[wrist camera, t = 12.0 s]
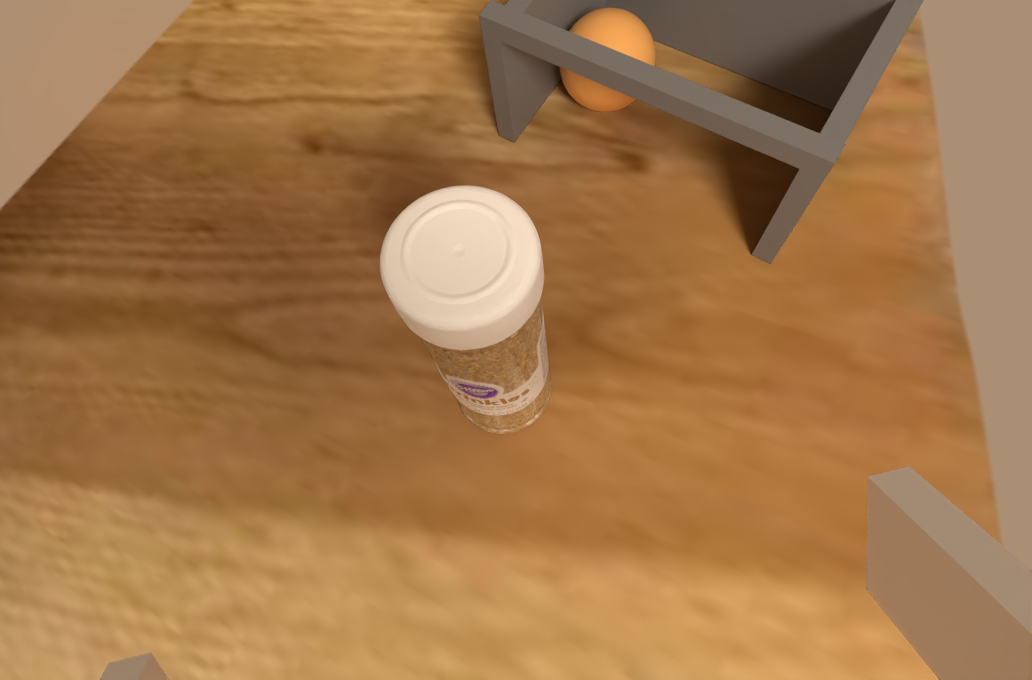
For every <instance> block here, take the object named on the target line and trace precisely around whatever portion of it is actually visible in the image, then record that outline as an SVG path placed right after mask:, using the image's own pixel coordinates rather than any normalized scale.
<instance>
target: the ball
mask: <svg viewBox="0 0 1032 680" xmlns="http://www.w3.org/2000/svg"><path fill="white" fill-rule="evenodd" d="M569 32H572V33H574V34H577V35H579V36H581V37H584V38H586V39H589V40H591V41H594V42H596V43H599V44H601V45H604V46H606V47H608V48H611V49H613V50H616V51H618V52H621V53H623V54H626V55H628V56H631V57H633V58H635V59H638V60H640V61H643V62H645V63H648V64H650V65H653V66H655V62H656V52H655V45H654V41H653V38H652V35H651V33H650V31H649V30H648V28H647V26H646V25H645V24H644V23H643V21H642V20H641V19H639V18H638V17H637V16H636V15H634V14H633V13H631V12H629V11H627V10H624V9H620V8H612V7H608V8H601V9H597V10H594V11H592V12H589V13H588V14H586V15H584V16H583V17H581V18H580V19H579V20H578V21H577V22H576V23H575V24H574V25H573V26H572V27H571V29H570V30H569ZM560 74H561V78H562V81H563V84H564V86H565V88H566V90H567V91H568V93H569V94H570V96H571V97H572V98H573V99H574V100H575V101H576V102H578V103H579V104H580V105H582V106H584V107H586V108H588V109H590V110H593V111H599V112H611V111H616V110H620V109H622V108H624V107H626V106H628V105H630V104H631V103H633V102H634V101H636V100H637V99H634V98H632V97H630V96H627V95H625V94H623V93H620V92H618V91H616V90H613V89H611V88H608V87H606V86H604V85H601V84H599V83H597V82H594V81H592V80H590V79H587V78H585V77H583V76H580V75H578V74H576V73H573V72H571V71H569V70H566V69H564V68H562V67H560Z"/></svg>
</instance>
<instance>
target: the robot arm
mask: <svg viewBox="0 0 1032 680" xmlns="http://www.w3.org/2000/svg"><path fill="white" fill-rule="evenodd" d="M866 590H867V591H868V592H869V593H870V594H871V596H872V597H873V598H874V599H875V601H876V602H877V603H878V604H879V606H880V607H881V608H882V609H883V611H884V612H885V613H886V614H887V615H888V617H889V618H890V619H891V620H892V622H893V623H894V624H895V625H896V627H897V628H898V629H899V630H900V632H901V633H902V634H903V635H904V636H905V638H906V639H907V640H908V641H909V643H910V644H911V645H912V646H913V648H914V649H915V650H916V651H917V652H918V654H919V655H920V656H921V657H922V659H923V660H924V661H925V662H926V664H927V665H928V666H929V667H930V669H931V670H932V671H933V672H934V673H935V675H936V676H937V677H938V678H939V680H1032V570H1031V569H1029V568H1028V567H1027V566H1026V565H1024V564H1023V563H1022V562H1021V561H1020V560H1019V559H1018V558H1016V557H1015V556H1014V555H1013V554H1012V553H1010V552H1009V551H1008V550H1007V549H1006V548H1005V547H1004V546H1002V545H1001V544H1000V543H999V542H998V541H996V540H995V539H994V538H993V537H992V536H991V535H989V534H988V533H987V532H986V531H985V530H984V529H982V528H981V527H980V526H979V525H978V524H977V523H975V522H974V521H973V520H972V519H971V518H969V517H968V516H967V515H966V514H965V513H964V512H962V511H961V510H960V509H959V508H958V507H957V506H955V505H954V504H953V503H952V502H951V501H950V500H948V499H947V498H946V497H945V496H944V495H943V494H941V493H940V492H939V491H938V490H937V489H935V488H934V487H933V486H932V485H931V484H930V483H928V482H927V481H926V480H925V479H924V478H923V477H921V476H920V475H919V474H918V473H917V472H916V471H914V470H913V469H912V468H911V467H910V466H909V467H905V468H901V469H897V470H893V471H889V472H884V473H880V474H876V475H872V476H868V500H867V563H866ZM100 680H169V679H168V677H167V676H166V674H165V673H164V671H163V670H162V668H161V667H160V665H159V664H158V662H157V661H156V659H155V658H154V656H153V655H152V653H148V654H144V655H140V656H136V657H132V658H128V659H124V660H120V661H116V662H111V663H109V664H108V666H107V668H106V670H105V671H104V673H103V675H102V676H101V678H100Z"/></svg>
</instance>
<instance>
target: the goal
mask: <svg viewBox="0 0 1032 680" xmlns="http://www.w3.org/2000/svg"><path fill="white" fill-rule="evenodd" d="M922 2H923V0H509V1H508V2H507V3H506V4H505V5H503V4H500V3H498V2H495V1H493V0H491V1H490V2H489V3H488V4H487V6H486V7H485V8H484V9H483V11H482V12H481V13H480V14H479V19H480V25H481V31H482V37H483V43H484V49H485V55H486V61H487V67H488V73H489V79H490V85H491V91H492V97H493V103H494V109H495V115H496V121H497V127H498V133H499V136H501V137H503V138H505V139H507V140H509V141H511V142H515V141H516V139H517V138H518V137H519V135H520V134H521V133H522V131H523V130H524V129H525V127H526V126H527V125H528V123H529V122H530V120H531V119H532V118H533V116H534V115H535V114H536V112H537V111H538V110H539V108H540V107H541V106H542V104H543V103H544V102H545V100H546V99H547V98H548V96H549V95H550V93H551V92H552V91H553V89H554V88H555V87H556V85H557V84H558V83H559V81H560V80H561V79H562V78H561V74H560V67H562V68H564V69H566V70H569V71H571V72H573V73H576V74H578V75H580V76H583V77H585V78H587V79H590V80H592V81H594V82H597V83H599V84H601V85H604V86H606V87H608V88H611V89H613V90H616V91H618V92H620V93H623V94H625V95H627V96H630V97H632V98H634V99H637V100H639V101H641V102H644V103H646V104H648V105H651V106H653V107H655V108H658V109H660V110H663V111H665V112H667V113H670V114H672V115H674V116H677V117H679V118H681V119H684V120H686V121H688V122H691V123H693V124H695V125H698V126H700V127H702V128H705V129H707V130H709V131H712V132H714V133H717V134H719V135H721V136H724V137H726V138H728V139H731V140H733V141H735V142H738V143H740V144H742V145H745V146H747V147H749V148H752V149H754V150H756V151H759V152H761V153H764V154H766V155H768V156H771V157H773V158H775V159H778V160H780V161H782V162H785V163H787V164H789V165H792V166H794V167H796V168H799V171H798V173H797V175H796V176H795V178H794V180H793V182H792V184H791V185H790V187H789V189H788V191H787V192H786V194H785V196H784V198H783V200H782V201H781V203H780V205H779V207H778V209H777V210H776V212H775V214H774V216H773V218H772V219H771V221H770V223H769V225H768V226H767V228H766V230H765V232H764V234H763V235H762V237H761V239H760V241H759V243H758V244H757V246H756V248H755V250H754V251H753V253H752V255H753V256H755V257H757V258H759V259H761V260H763V261H765V262H768V263H770V264H771V263H772V261H773V259H774V258H775V256H776V255H777V253H778V252H779V250H780V249H781V247H782V245H783V244H784V242H785V241H786V239H787V238H788V236H789V234H790V233H791V231H792V230H793V228H794V227H795V225H796V223H797V222H798V220H799V219H800V217H801V216H802V214H803V212H804V211H805V209H806V208H807V206H808V205H809V203H810V201H811V200H812V198H813V197H814V195H815V194H816V192H817V190H818V189H819V187H820V186H821V184H822V183H823V181H824V179H825V178H826V176H827V175H828V173H829V172H830V170H831V168H832V167H833V165H834V164H835V162H836V160H837V158H838V157H839V155H840V153H841V151H842V149H843V148H844V146H845V144H844V143H845V142H846V140H847V138H848V136H849V134H850V133H851V131H852V129H853V127H854V125H855V123H856V122H857V120H858V118H859V116H860V114H861V113H862V111H863V109H864V107H865V105H866V104H867V102H868V100H869V98H870V96H871V95H872V93H873V91H874V89H875V87H876V86H877V84H878V82H879V80H880V78H881V77H882V75H883V73H884V71H885V69H886V67H887V66H888V64H889V62H890V60H891V58H892V57H893V55H894V53H895V51H896V49H897V48H898V46H899V44H900V42H901V40H902V39H903V37H904V35H905V33H906V31H907V30H908V28H909V26H910V24H911V22H912V21H913V19H914V17H915V15H916V13H917V11H918V10H919V8H920V6H921V4H922ZM608 7H612V8H620V9H624V10H627V11H629V12H631V13H633V14H634V15H636V16H637V17H638V18H639V19H641V20H642V21H643V23H644V24H645V25H646V26H647V28H648V30H649V31H650V33H651V35H652V38H653V40H654V41H657V42H660V43H662V44H665V45H667V46H670V47H672V48H675V49H677V50H680V51H682V52H685V53H687V54H690V55H692V56H695V57H697V58H700V59H703V60H705V61H708V62H710V63H713V64H715V65H718V66H720V67H723V68H725V69H728V70H730V71H733V72H735V73H738V74H741V75H743V76H746V77H748V78H751V79H753V80H756V81H758V82H761V83H763V84H766V85H768V86H771V87H773V88H776V89H778V90H781V91H784V92H786V93H789V94H791V95H794V96H796V97H799V98H801V99H804V100H806V101H809V102H811V103H814V104H816V105H819V106H821V107H824V108H827V109H829V110H832V113H831V115H830V117H829V118H828V120H827V122H826V124H825V125H824V127H823V129H822V131H821V132H820V133H817V132H815V131H812V130H810V129H807V128H805V127H803V126H800V125H798V124H795V123H793V122H790V121H788V120H785V119H783V118H780V117H778V116H776V115H773V114H771V113H768V112H766V111H763V110H761V109H758V108H756V107H753V106H751V105H749V104H746V103H744V102H741V101H739V100H736V99H734V98H731V97H729V96H726V95H724V94H721V93H719V92H717V91H714V90H712V89H709V88H707V87H704V86H702V85H699V84H697V83H694V82H692V81H690V80H687V79H685V78H682V77H680V76H677V75H675V74H672V73H670V72H667V71H665V70H663V69H660V68H658V67H655V66H653V65H650V64H648V63H645V62H643V61H640V60H638V59H635V58H633V57H631V56H628V55H626V54H623V53H621V52H618V51H616V50H613V49H611V48H608V47H606V46H604V45H601V44H599V43H596V42H594V41H591V40H589V39H586V38H584V37H581V36H579V35H577V34H574V33H572V32H569V30H570V29H571V27H572V26H573V25H574V24H575V23H576V22H577V21H578V20H579V19H580V18H581V17H583V16H584V15H586V14H588V13H589V12H592V11H594V10H597V9H601V8H608Z"/></svg>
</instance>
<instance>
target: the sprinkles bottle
mask: <svg viewBox="0 0 1032 680" xmlns="http://www.w3.org/2000/svg"><path fill="white" fill-rule="evenodd" d="M380 273H381V278H382V282H383V285H384V288H385V290H386V292H387V294H388V296H389V298H390V300H391V302H392V304H393V305H394V307H395V309H396V311H397V312H398V314H399V315H400V317H401V318H402V320H403V321H404V323H405V324H406V325H407V326H408V327H409V328H410V329H411V330H412V331H413V332H414V333H415V334H416V335H418V336H419V337H420V338H421V340H422V341H423V343H424V344H425V346H426V347H427V349H428V351H429V352H430V354H431V356H432V357H433V359H434V362H435V364H436V367H437V369H438V370H439V372H440V374H441V376H442V377H443V379H444V381H445V382H446V384H447V386H448V387H449V389H450V390H451V392H452V393H453V395H454V396H455V397H456V398H457V400H458V402H459V405H460V408H461V410H462V412H463V414H464V415H465V416H466V417H467V418H468V419H469V420H470V421H471V422H472V423H473V424H475V425H476V426H478V427H480V428H482V429H484V430H486V431H488V432H492V433H497V434H504V433H513V432H517V431H519V430H521V429H524V428H526V427H528V426H530V425H532V424H533V423H534V422H535V421H536V420H537V419H538V418H539V417H540V416H541V415H542V413H543V412H544V410H545V408H546V407H547V404H548V402H549V399H550V395H551V391H552V385H551V376H550V372H549V370H548V354H547V345H546V336H545V325H544V314H543V308H542V304H541V301H540V298H541V295H542V290H543V285H544V267H543V257H542V250H541V243H540V239H539V236H538V233H537V230H536V228H535V226H534V224H533V222H532V220H531V219H530V217H529V216H528V214H527V213H526V212H525V211H524V210H523V209H522V208H521V207H520V206H519V205H518V204H517V203H516V202H514V201H513V200H512V199H510V198H509V197H507V196H505V195H504V194H502V193H499V192H497V191H494V190H491V189H488V188H484V187H480V186H468V185H465V186H452V187H447V188H442V189H439V190H436V191H433V192H431V193H428V194H426V195H424V196H422V197H420V198H418V199H417V200H416V201H414V202H413V203H411V204H410V205H409V206H408V207H406V208H405V209H404V210H403V211H402V212H401V213H400V214H399V215H398V217H397V218H396V219H395V220H394V222H393V223H392V225H391V226H390V228H389V230H388V232H387V234H386V236H385V238H384V241H383V244H382V249H381V254H380Z"/></svg>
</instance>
